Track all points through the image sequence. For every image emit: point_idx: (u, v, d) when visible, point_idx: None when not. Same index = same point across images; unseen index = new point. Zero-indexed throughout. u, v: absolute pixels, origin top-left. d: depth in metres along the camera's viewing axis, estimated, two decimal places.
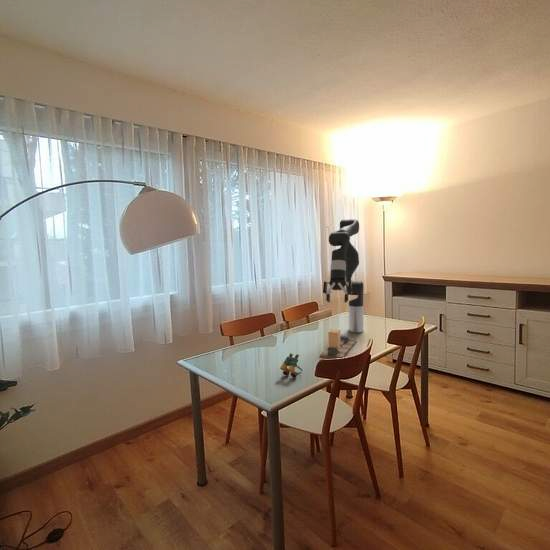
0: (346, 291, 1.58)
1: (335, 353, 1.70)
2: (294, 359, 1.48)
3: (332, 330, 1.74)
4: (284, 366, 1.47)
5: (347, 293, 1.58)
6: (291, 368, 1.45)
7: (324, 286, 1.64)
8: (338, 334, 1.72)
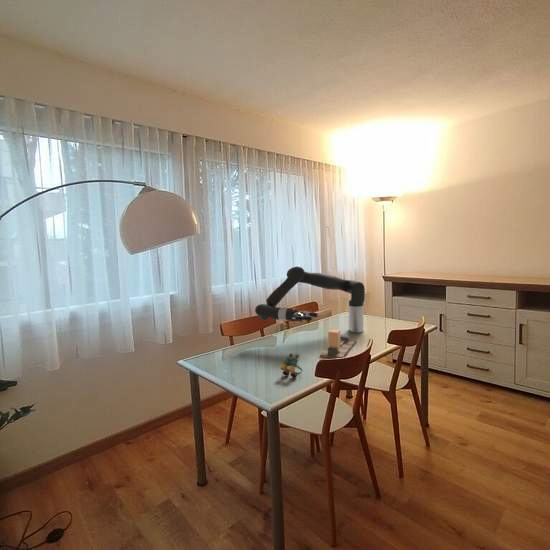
0: None
1: (335, 353, 1.70)
2: (294, 359, 1.48)
3: (332, 330, 1.74)
4: (284, 366, 1.47)
5: (303, 320, 1.75)
6: (291, 368, 1.45)
7: None
8: (338, 334, 1.72)
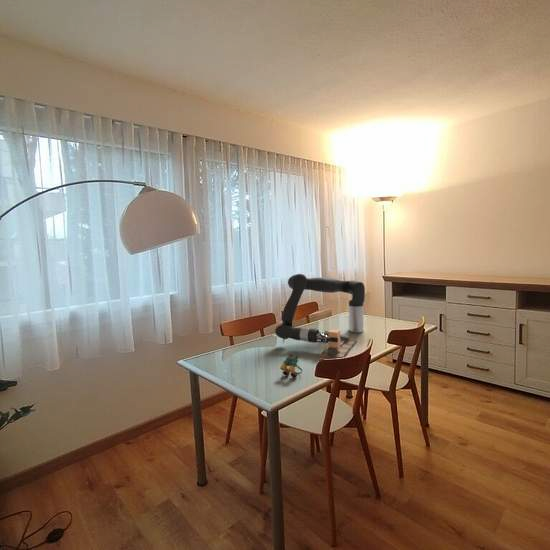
0: (327, 341, 1.72)
1: (335, 353, 1.70)
2: (294, 359, 1.48)
3: (332, 330, 1.74)
4: (284, 366, 1.47)
5: (329, 341, 1.72)
6: (291, 368, 1.45)
7: None
8: (338, 334, 1.72)
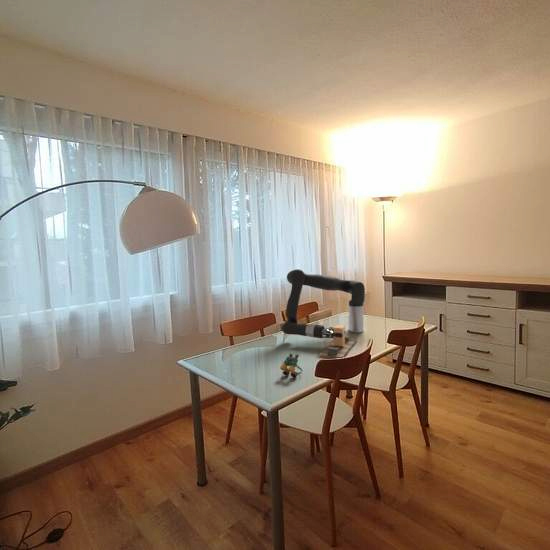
0: (332, 336, 1.80)
1: (335, 353, 1.70)
2: (294, 359, 1.48)
3: (337, 326, 1.82)
4: (284, 366, 1.47)
5: None
6: (291, 368, 1.45)
7: None
8: (343, 330, 1.79)
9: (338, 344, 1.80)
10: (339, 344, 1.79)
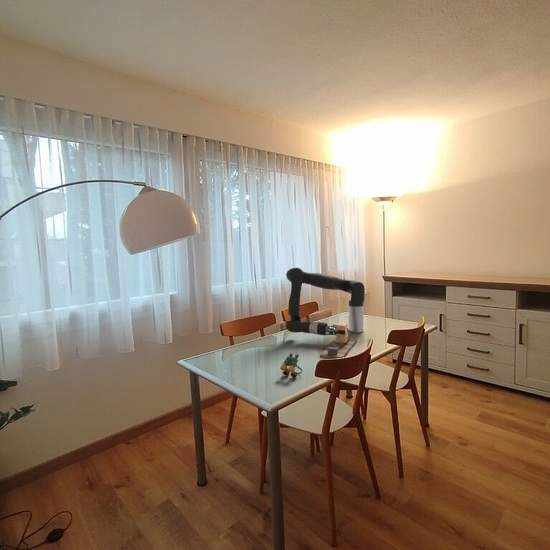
0: None
1: (335, 353, 1.70)
2: (294, 359, 1.48)
3: (340, 323, 1.87)
4: (284, 366, 1.47)
5: (337, 334, 1.84)
6: (291, 368, 1.45)
7: None
8: (345, 327, 1.84)
9: (341, 341, 1.85)
10: (342, 341, 1.84)
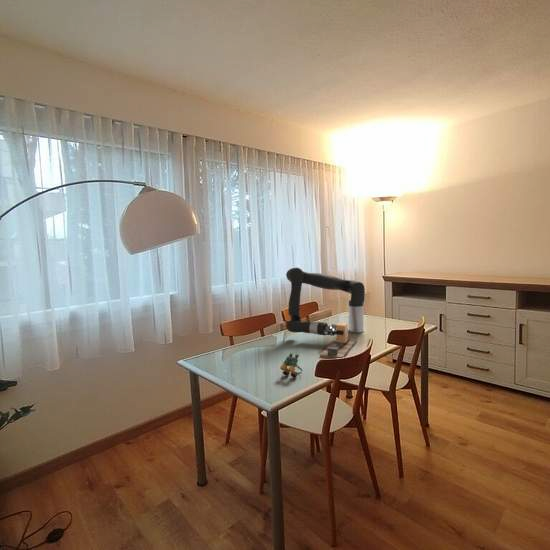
0: None
1: (335, 353, 1.70)
2: (294, 359, 1.48)
3: (340, 323, 1.87)
4: (284, 366, 1.47)
5: (335, 334, 1.83)
6: (291, 368, 1.45)
7: None
8: (345, 327, 1.84)
9: (341, 341, 1.85)
10: (342, 341, 1.84)
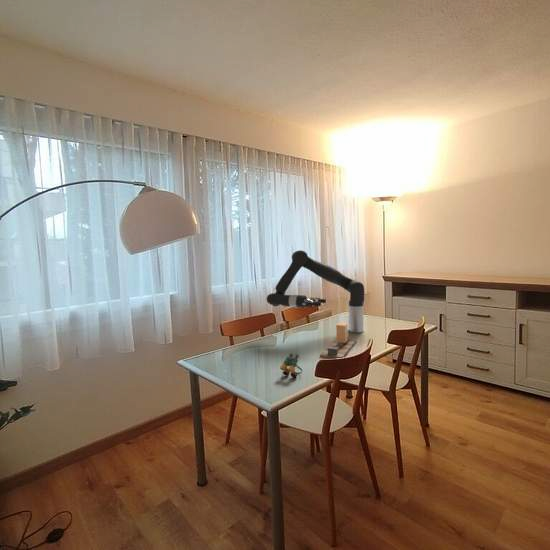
0: (311, 305, 1.88)
1: (335, 353, 1.70)
2: (294, 359, 1.48)
3: (340, 323, 1.87)
4: (284, 366, 1.47)
5: (313, 305, 1.87)
6: (291, 368, 1.45)
7: None
8: (345, 327, 1.84)
9: (341, 341, 1.85)
10: (342, 341, 1.84)
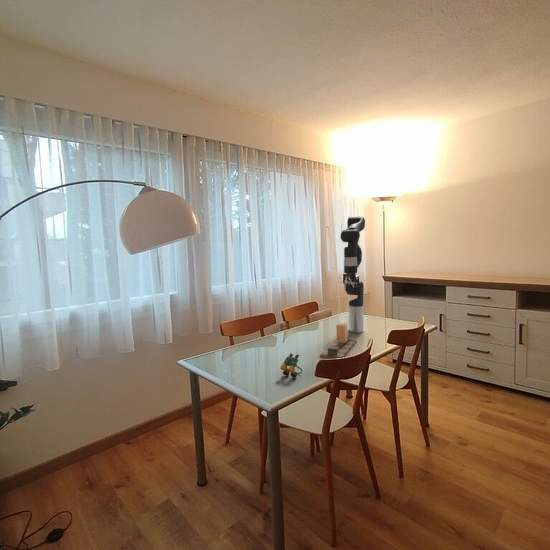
0: (353, 284, 1.83)
1: (335, 353, 1.70)
2: (294, 359, 1.48)
3: (340, 323, 1.87)
4: (284, 366, 1.47)
5: (354, 286, 1.83)
6: (291, 368, 1.45)
7: (343, 278, 1.93)
8: (345, 327, 1.84)
9: (341, 341, 1.85)
10: (342, 341, 1.84)
